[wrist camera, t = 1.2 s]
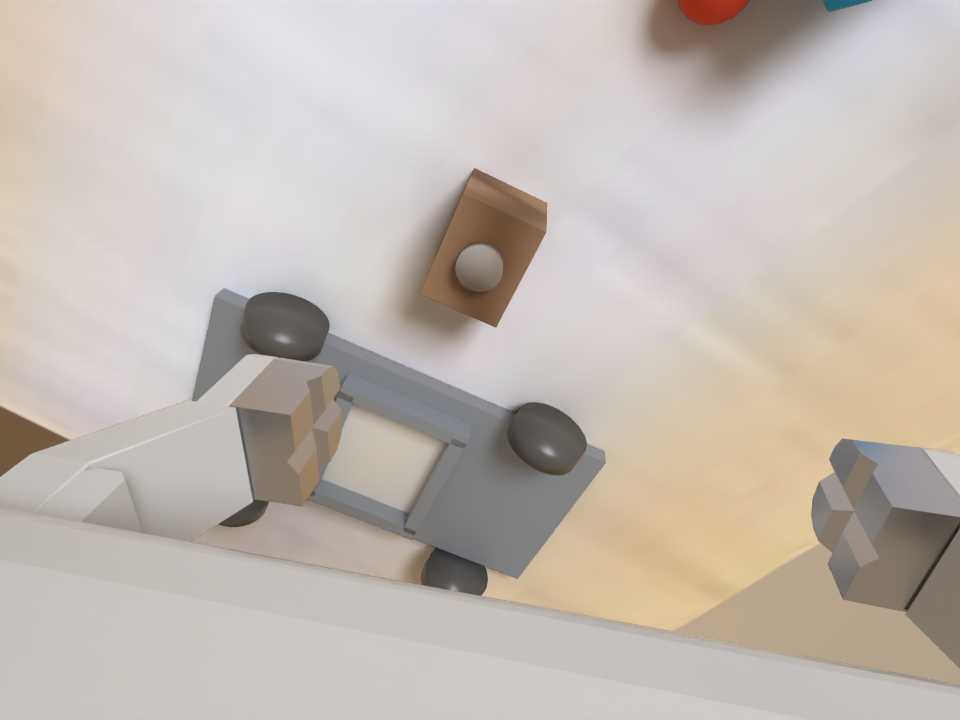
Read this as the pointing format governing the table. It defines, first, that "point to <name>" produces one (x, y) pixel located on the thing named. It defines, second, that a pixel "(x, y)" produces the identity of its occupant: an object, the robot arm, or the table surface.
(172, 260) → the table surface
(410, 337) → the table surface
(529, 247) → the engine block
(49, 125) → the table surface
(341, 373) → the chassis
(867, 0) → the lever
